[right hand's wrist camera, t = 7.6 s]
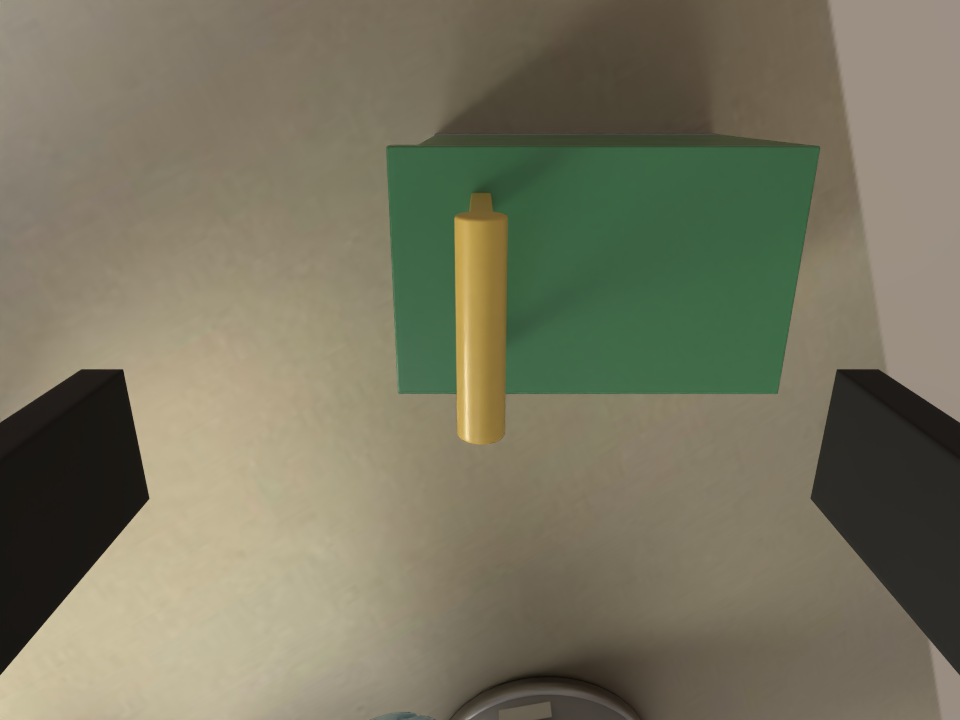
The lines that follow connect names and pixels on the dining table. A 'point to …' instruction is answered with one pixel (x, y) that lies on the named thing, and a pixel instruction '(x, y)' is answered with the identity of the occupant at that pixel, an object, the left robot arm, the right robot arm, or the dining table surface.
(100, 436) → the right robot arm
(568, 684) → the left robot arm
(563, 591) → the dining table surface
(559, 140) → the chest
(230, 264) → the dining table surface
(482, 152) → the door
